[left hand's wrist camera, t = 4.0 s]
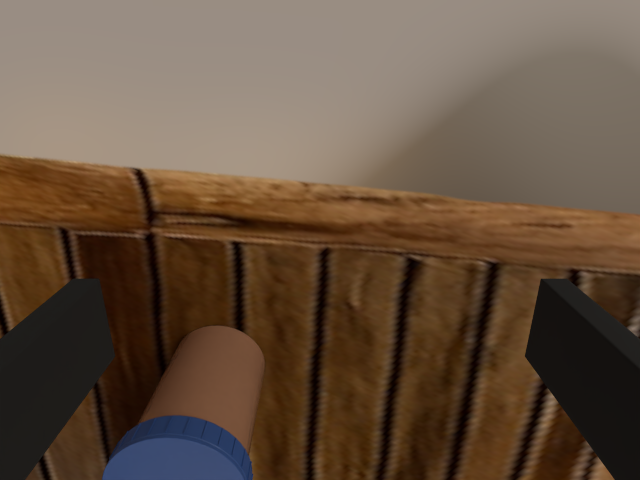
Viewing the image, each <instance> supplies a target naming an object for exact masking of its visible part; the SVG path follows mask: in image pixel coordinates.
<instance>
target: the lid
mask: <svg viewBox="0 0 640 480" xmlns="http://www.w3.org/2000/svg"><path fill="white" fill-rule="evenodd" d="M109 459H110V460H109V462H108V464H107V466H106V468H105V470H104V473H103V477H102V480H252V478H253V474H252V466H251V463H252V462H251V461H250V458H249V456H248V454H247V452H246V449H245V448H244V447H243V445H242V444H241V443H240V442H239V441H238V440H237V438H236V437H234V436H233V435H232V434H231V433H230V432H228V431H227V430H225V429H224V428H222V427H220V426H218V425H216V424H214V423H212V422H209V421H206V420H203V419H200V418H196V417H190V416H181V415H172V416H162V417H157V418H153V419H149V420H147V421H144V422H142V423H139V424H138V425H136V426H135V427H133V428H132V429H131V430H129V431H127V433H126V434H125V435H124V436H123V438H122V439H121V441H119V442H118V443H117V445H116V447H115V449H114V451H113V453H112V454H111V456H110V458H109Z"/></svg>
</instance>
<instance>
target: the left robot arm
mask: <svg viewBox="0 0 640 480" xmlns="http://www.w3.org/2000/svg"><path fill="white" fill-rule="evenodd" d="M114 357H115V353H114V349H113V344H112V339H111V334H110V329H109V325H108V320H107V315H106V310H105V305H104V300H103V296H102V291H101V286H100V281H99V279H72V280H71V281H70V282H69V283H68V284H66V285H65V286H64V287H63V288H62V289H60V290H59V291H58V292H57V293H55V294H54V295H53V296H52V297H51V298H49V299H48V300H47V301H46V302H45V303H43V304H42V305H41V306H40V307H38V308H37V309H36V310H35V311H34V312H32V313H31V314H30V315H29V316H28V317H26V318H25V319H24V320H23V321H21V322H20V323H19V324H18V325H17V326H15V327H14V328H13V329H12V330H11V331H9V332H8V333H7V334H6V335H5V336H3V337H2V338H1V339H0V480H25V479H26V478H27V476H28V475H29V474H30V472H31V471H32V470H33V468H34V467H35V465H36V464H37V463H38V461H39V460H40V459H41V457H42V456H43V454H44V453H45V452H46V450H47V449H48V448H49V446H50V445H51V443H52V442H53V441H54V439H55V438H56V437H57V435H58V434H59V433H60V431H61V430H62V428H63V427H64V426H65V424H66V423H67V422H68V420H69V419H70V417H71V416H72V415H73V413H74V412H75V411H76V409H77V408H78V406H79V405H80V404H81V402H82V401H83V400H84V398H85V397H86V396H87V394H88V393H89V391H90V390H91V389H92V387H93V386H94V385H95V383H96V382H97V380H98V379H99V378H100V376H101V375H102V374H103V372H104V371H105V369H106V368H107V367H108V365H109V364H110V363H111V361H112V360H113V358H114ZM525 357H526V358H527V360H528V361H529V363H530V364H531V365H532V367H533V368H534V369H535V371H536V372H537V374H538V375H539V376H540V378H541V379H542V380H543V382H544V383H545V385H546V386H547V387H548V389H549V390H550V391H551V393H552V394H553V396H554V397H555V398H556V400H557V401H558V402H559V404H560V405H561V406H562V408H563V409H564V411H565V412H566V413H567V415H568V416H569V417H570V419H571V420H572V422H573V423H574V424H575V426H576V427H577V428H578V430H579V431H580V433H581V434H582V435H583V437H584V438H585V439H586V441H587V442H588V443H589V445H590V446H591V448H592V449H593V450H594V452H595V453H596V454H597V456H598V457H599V459H600V460H601V461H602V463H603V464H604V465H605V467H606V468H607V470H608V471H609V472H610V474H611V475H612V476H613V478H614V479H615V480H640V339H639V338H638V337H637V336H635V335H634V334H633V333H632V332H631V331H629V330H628V329H627V328H626V327H625V326H623V325H622V324H621V323H620V322H619V321H617V320H616V319H615V318H614V317H612V316H611V315H610V314H609V313H608V312H606V311H605V310H604V309H603V308H602V307H600V306H599V305H598V304H597V303H595V302H594V301H593V300H592V299H591V298H589V297H588V296H587V295H586V294H585V293H583V292H582V291H581V290H580V289H578V288H577V287H576V286H575V285H574V284H572V283H571V282H570V281H569V280H568V279H541V281H540V286H539V291H538V296H537V300H536V305H535V310H534V315H533V320H532V324H531V329H530V334H529V339H528V344H527V349H526V353H525Z"/></svg>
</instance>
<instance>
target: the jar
mask: <svg viewBox="0 0 640 480" xmlns="http://www.w3.org/2000/svg"><path fill="white" fill-rule="evenodd" d="M264 372H265V360H264V356H263V354H262V351H261V349H260V348H259V346H258V345H257V344H256V342H255V341H254V340H253V339H252V338H250V337H249V336H248V335H246V334H245V333H243V332H241V331H239V330H237V329H234V328H231V327H226V326H206V327H202V328H199V329H197V330H194V331H193V332H191V333H189V334H188V335H187V336H186V337H184V339H183V340H182V341H181V342H180V344H179V345H178V347H177V349H176V351H175V353H174V355H173V357H172V359H171V361H170V362H169V364H168V366H167V368H166V370H165V372H164V374H163V376H162V378H161V380H160V382H159V383H158V385H157V387H156V389H155V391H154V393H153V395H152V397H151V399H150V401H149V402H148V404H147V406H146V408H145V410H144V412H143V414H142V416H141V418H140V420H139V422H138V423H137V425H138V424H139V423H142V422H144V421H147V420H149V419H153V418H157V417H162V416H172V415H181V416H190V417H196V418H200V419H203V420H206V421H209V422H212V423H214V424H216V425H218V426H220V427H222V428H224V429H225V430H227V431H228V432H230V433H231V434H232V435H233V436H234V437H236V438H237V440H238V441H239V442H240V443H241V444H242V445H243V447H244V448H245V449H246V452H247V454H248V456H249V452H250V446H251V441H252V436H253V430H254V425H255V420H256V414H257V409H258V404H259V398H260V393H261V388H262V382H263V377H264Z"/></svg>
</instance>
